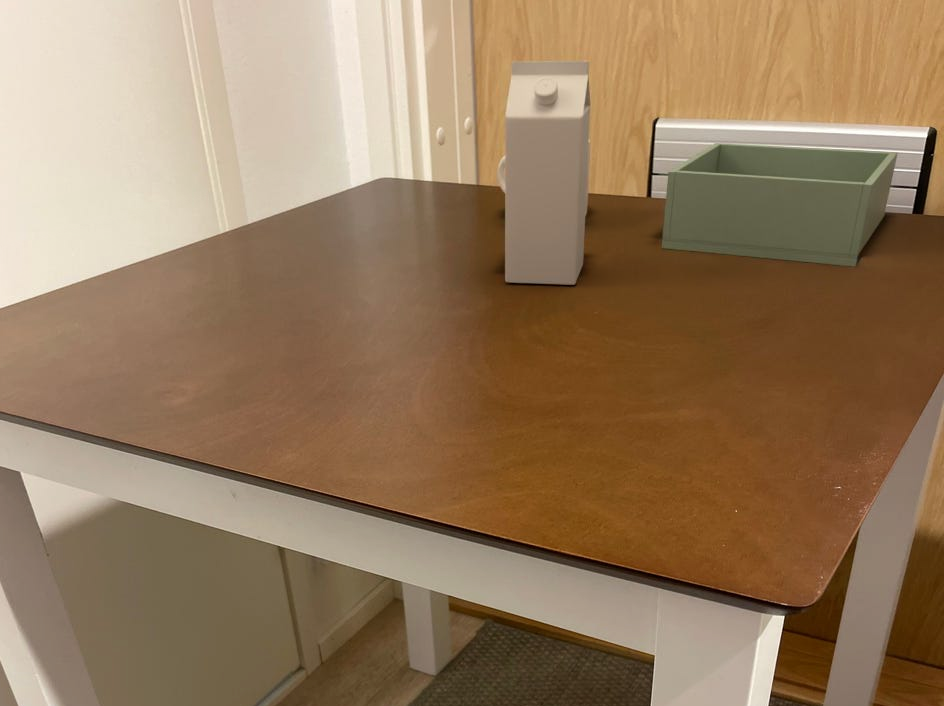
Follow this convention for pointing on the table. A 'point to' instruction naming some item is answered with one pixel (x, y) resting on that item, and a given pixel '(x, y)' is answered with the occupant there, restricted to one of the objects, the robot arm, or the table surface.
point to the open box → (778, 202)
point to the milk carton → (546, 171)
